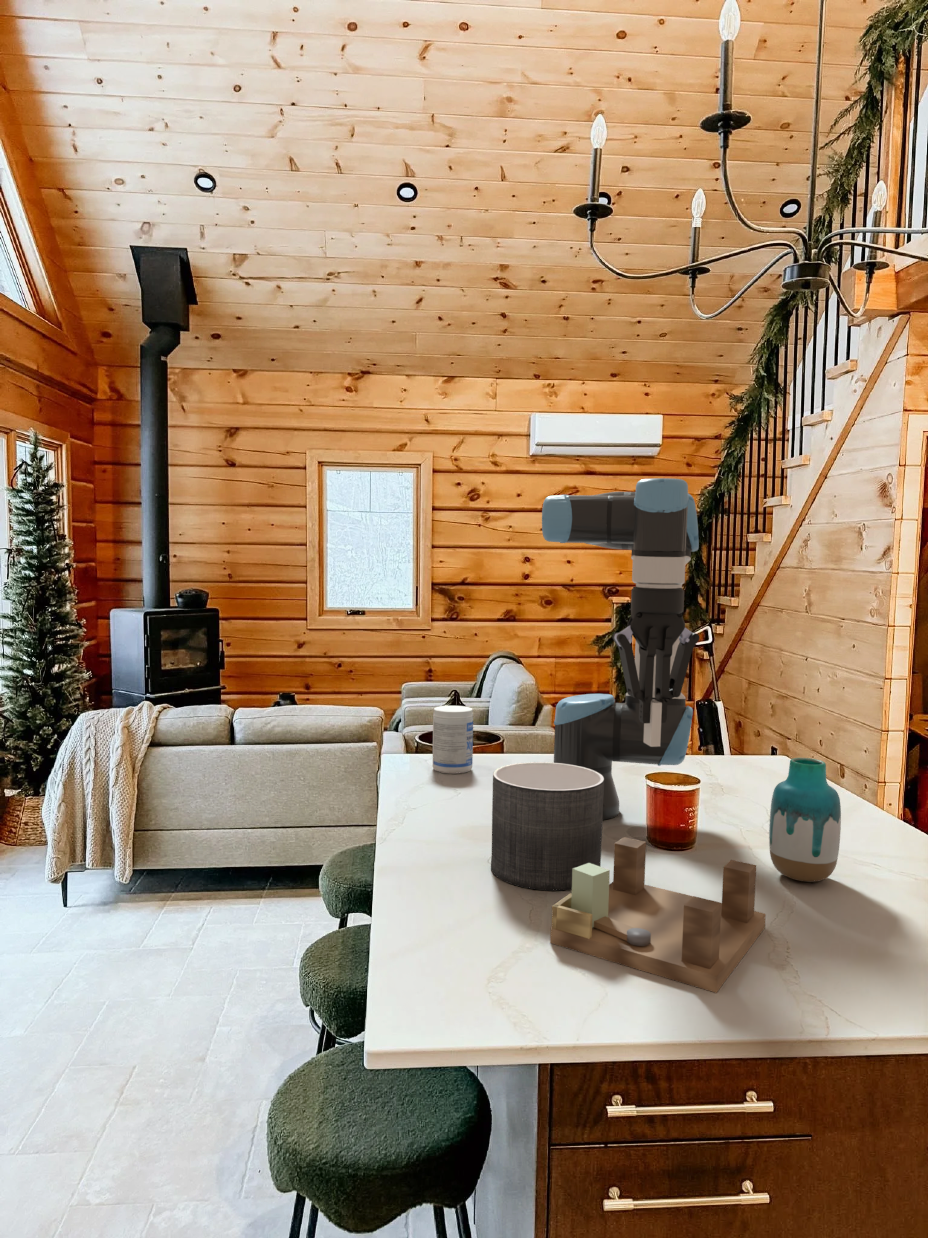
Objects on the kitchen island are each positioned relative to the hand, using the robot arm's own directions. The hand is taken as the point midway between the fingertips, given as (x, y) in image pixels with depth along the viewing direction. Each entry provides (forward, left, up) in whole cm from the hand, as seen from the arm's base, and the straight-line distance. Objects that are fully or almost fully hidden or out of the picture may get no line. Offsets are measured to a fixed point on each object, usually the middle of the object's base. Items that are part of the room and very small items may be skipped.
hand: (651, 744), depth 127 cm
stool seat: (+7, -11, -23) cm, 27 cm away
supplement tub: (-66, +46, -24) cm, 84 cm away
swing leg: (+3, -18, -21) cm, 28 cm away
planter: (-17, +1, -24) cm, 29 cm away
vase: (+18, +23, -24) cm, 37 cm away
